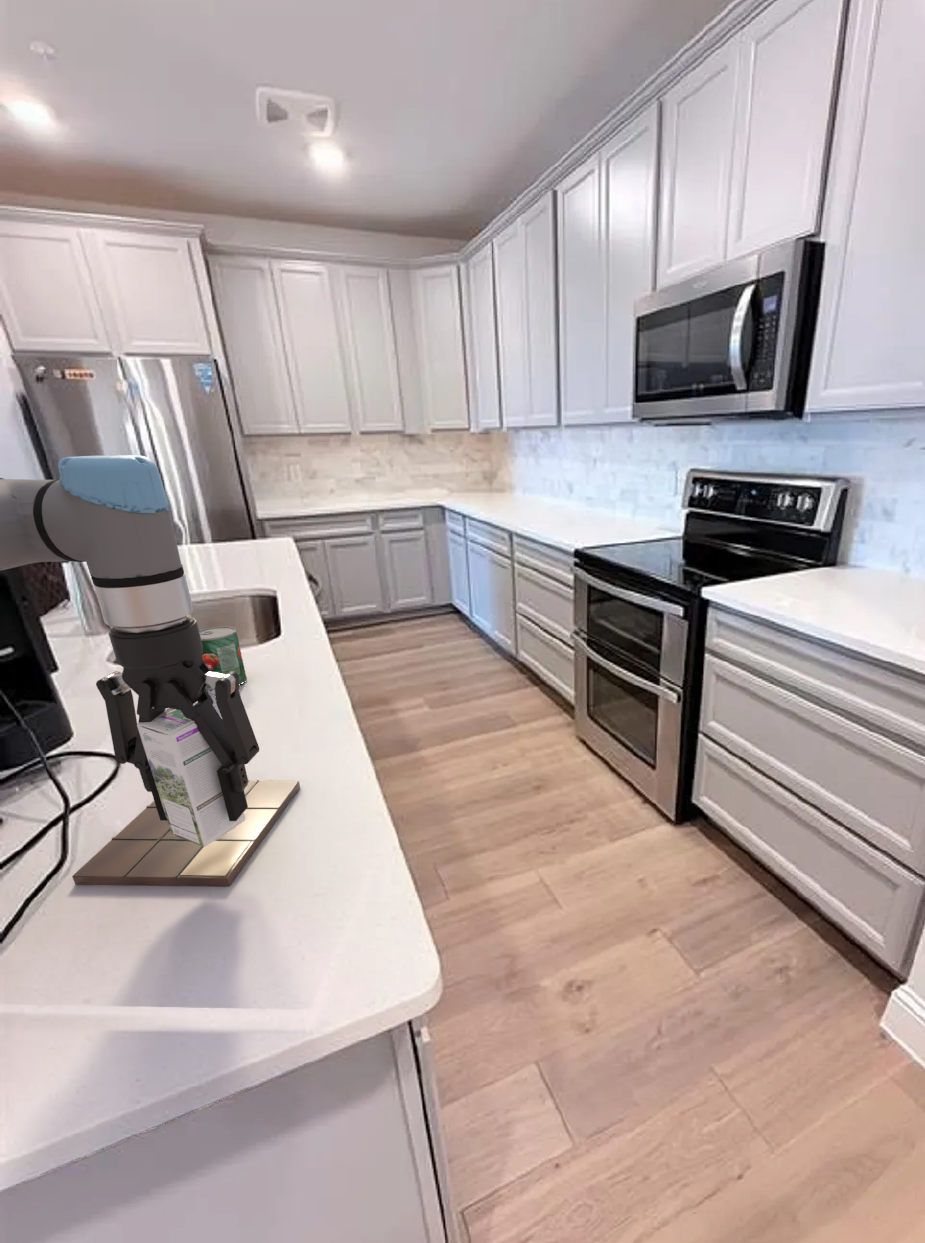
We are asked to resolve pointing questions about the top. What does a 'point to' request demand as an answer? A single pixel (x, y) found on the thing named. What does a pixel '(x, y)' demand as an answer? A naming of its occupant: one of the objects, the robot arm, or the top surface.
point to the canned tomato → (222, 651)
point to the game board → (187, 846)
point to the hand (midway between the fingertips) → (204, 813)
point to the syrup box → (186, 778)
